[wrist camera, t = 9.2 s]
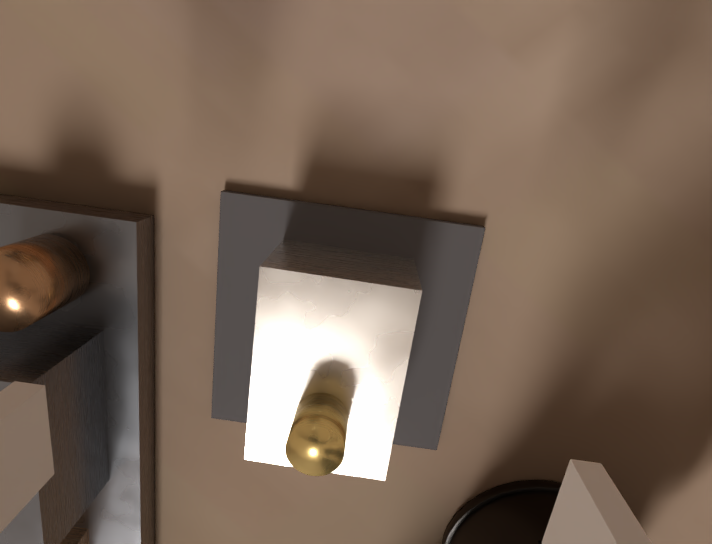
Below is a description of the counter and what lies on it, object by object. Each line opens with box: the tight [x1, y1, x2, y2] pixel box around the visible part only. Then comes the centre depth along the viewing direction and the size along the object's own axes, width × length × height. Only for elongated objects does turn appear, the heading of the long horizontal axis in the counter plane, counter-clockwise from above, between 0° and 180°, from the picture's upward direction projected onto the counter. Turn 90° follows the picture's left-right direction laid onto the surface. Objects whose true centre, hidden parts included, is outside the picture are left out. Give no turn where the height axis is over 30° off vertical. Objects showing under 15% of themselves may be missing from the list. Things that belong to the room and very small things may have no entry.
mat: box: [211, 190, 485, 450], centre depth 21 cm, size 11×11×1 cm
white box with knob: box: [244, 240, 422, 481], centre depth 18 cm, size 8×6×6 cm
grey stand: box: [0, 194, 155, 544], centre depth 19 cm, size 20×7×8 cm, turn 173°
